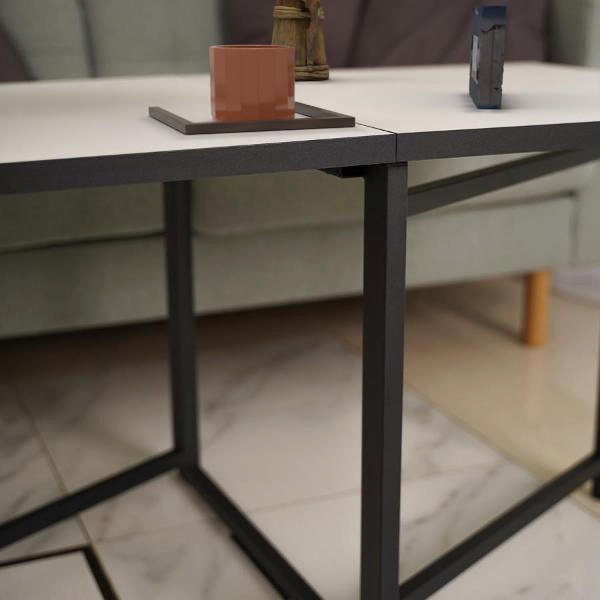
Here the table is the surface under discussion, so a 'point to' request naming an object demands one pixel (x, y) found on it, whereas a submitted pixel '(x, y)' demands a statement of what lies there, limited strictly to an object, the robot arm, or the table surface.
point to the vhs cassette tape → (487, 55)
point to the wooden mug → (302, 36)
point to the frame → (258, 121)
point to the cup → (252, 82)
